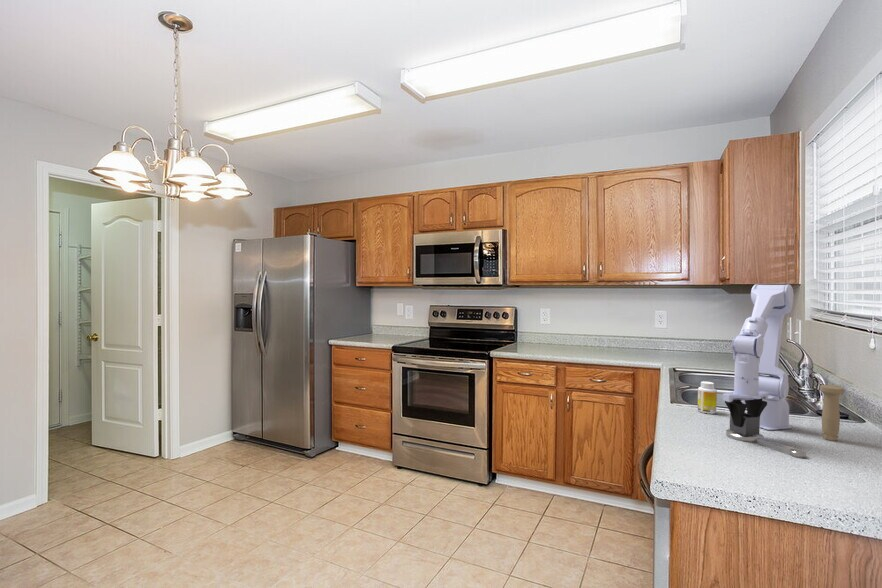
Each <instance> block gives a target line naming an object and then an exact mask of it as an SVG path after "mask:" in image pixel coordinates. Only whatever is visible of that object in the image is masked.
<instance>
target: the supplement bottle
mask: <svg viewBox="0 0 882 588" xmlns="http://www.w3.org/2000/svg"><path fill="white" fill-rule="evenodd" d="M717 392H718V390H717V389H716V388H715V383H714V382H711V381H706V380H705V381H704V380H703V381H700V386H699V387H698V388H697V411H698V412H700V413H702V414H706V413H707V414H709V415H714V414H716V413H717V396H718V395H717V394H718V393H717Z"/></svg>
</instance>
